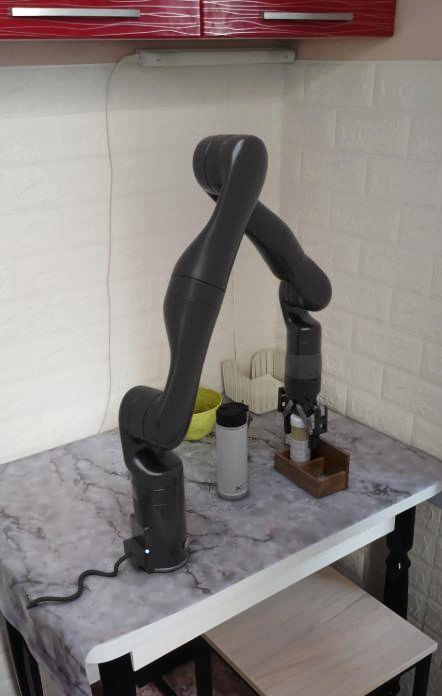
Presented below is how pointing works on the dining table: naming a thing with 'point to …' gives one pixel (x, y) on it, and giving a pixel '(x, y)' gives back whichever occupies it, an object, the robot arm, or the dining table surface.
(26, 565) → the dining table surface
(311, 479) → the spice rack
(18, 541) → the dining table surface
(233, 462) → the travel mug
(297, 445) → the brown spice jar
